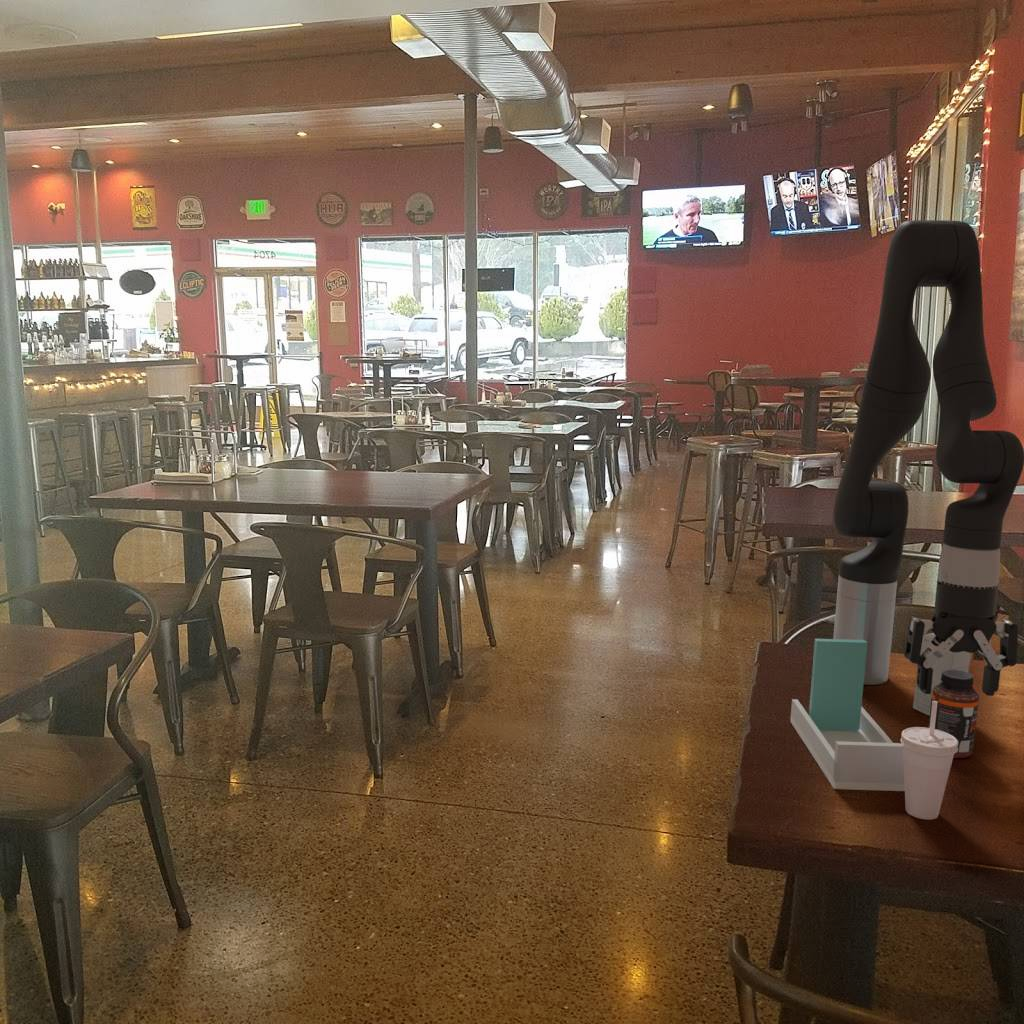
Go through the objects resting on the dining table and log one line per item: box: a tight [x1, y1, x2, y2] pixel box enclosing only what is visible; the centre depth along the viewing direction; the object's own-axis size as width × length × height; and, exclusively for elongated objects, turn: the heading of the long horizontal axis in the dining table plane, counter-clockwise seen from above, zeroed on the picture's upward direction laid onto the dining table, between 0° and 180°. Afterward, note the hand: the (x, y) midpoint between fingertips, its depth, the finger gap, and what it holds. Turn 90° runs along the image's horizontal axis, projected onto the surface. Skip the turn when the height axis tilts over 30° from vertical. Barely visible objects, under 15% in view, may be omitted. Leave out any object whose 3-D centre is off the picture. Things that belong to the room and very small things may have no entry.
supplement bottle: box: [927, 670, 980, 759], centre depth 138 cm, size 6×6×11 cm
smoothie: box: [900, 701, 958, 821], centre depth 119 cm, size 6×6×14 cm
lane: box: [790, 698, 905, 792], centre depth 136 cm, size 22×10×6 cm, turn 179°
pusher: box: [808, 638, 867, 730], centre depth 141 cm, size 1×7×13 cm, turn 89°
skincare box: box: [912, 632, 972, 717], centre depth 151 cm, size 6×4×12 cm
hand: (956, 693), depth 137 cm, fingers open, 8 cm apart
